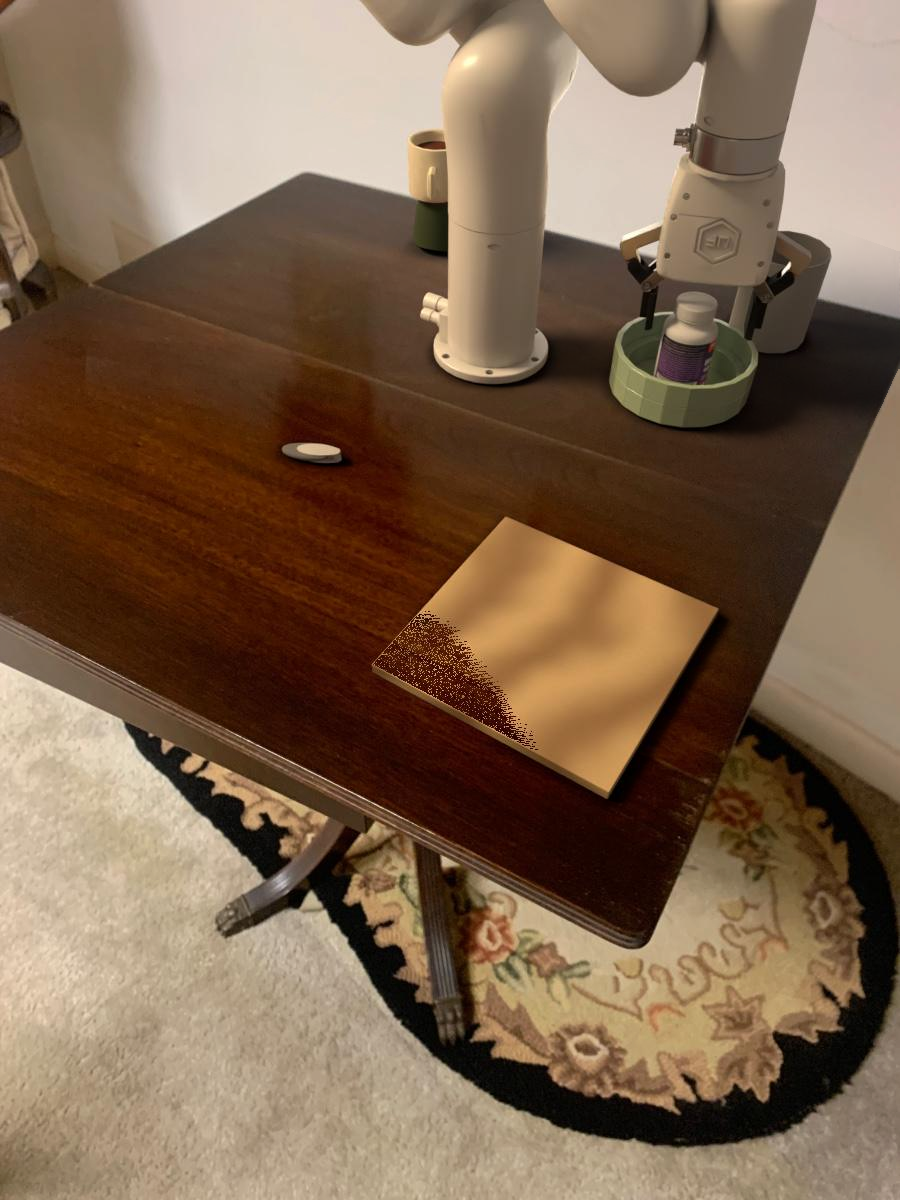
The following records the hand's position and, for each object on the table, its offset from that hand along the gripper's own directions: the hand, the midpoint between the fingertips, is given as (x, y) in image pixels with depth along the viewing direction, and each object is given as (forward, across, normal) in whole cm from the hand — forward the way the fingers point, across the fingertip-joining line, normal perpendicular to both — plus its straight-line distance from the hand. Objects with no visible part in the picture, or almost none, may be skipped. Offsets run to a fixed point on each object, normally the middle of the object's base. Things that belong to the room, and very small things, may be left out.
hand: (697, 328), depth 88 cm
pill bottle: (+7, -1, 0) cm, 7 cm away
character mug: (+7, -33, +26) cm, 42 cm away
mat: (+7, -9, -38) cm, 39 cm away
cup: (+8, +8, +14) cm, 18 cm away
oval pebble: (+7, -35, -20) cm, 40 cm away
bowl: (+7, -1, 0) cm, 7 cm away
